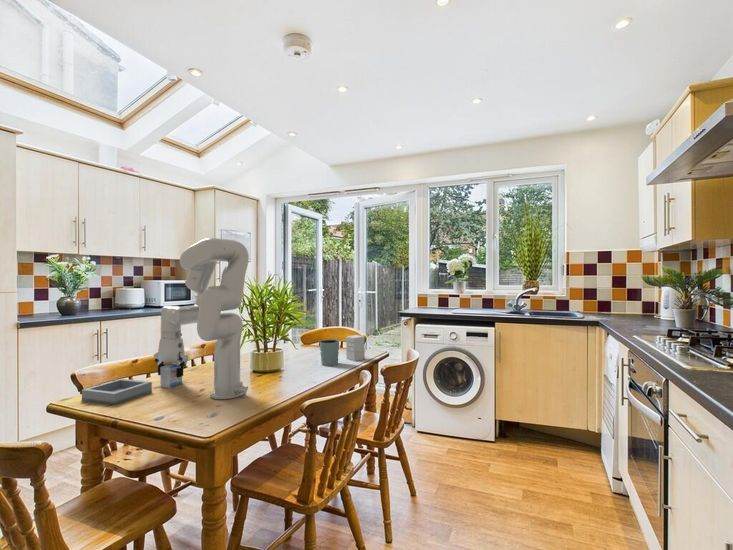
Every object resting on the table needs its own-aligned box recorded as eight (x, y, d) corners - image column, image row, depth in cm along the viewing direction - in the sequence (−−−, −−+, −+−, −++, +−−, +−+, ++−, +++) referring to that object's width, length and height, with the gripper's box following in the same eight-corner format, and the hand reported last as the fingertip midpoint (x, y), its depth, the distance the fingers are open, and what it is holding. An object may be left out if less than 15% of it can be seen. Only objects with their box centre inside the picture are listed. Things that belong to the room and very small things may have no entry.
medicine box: (169, 388, 158) (169, 367, 158) (160, 387, 159) (160, 366, 159) (182, 382, 166) (182, 362, 166) (173, 382, 167) (173, 362, 167)
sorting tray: (151, 391, 153) (151, 381, 153) (114, 405, 138) (114, 393, 138) (121, 388, 158) (121, 378, 158) (81, 400, 143) (81, 389, 143)
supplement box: (356, 357, 216) (356, 334, 216) (364, 359, 210) (364, 336, 210) (345, 359, 211) (345, 336, 211) (354, 361, 206) (354, 337, 206)
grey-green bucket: (343, 363, 201) (343, 340, 201) (331, 367, 192) (331, 343, 192) (327, 361, 206) (327, 338, 206) (315, 365, 198) (315, 341, 198)
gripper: (194, 335, 164) (193, 375, 164) (161, 332, 169) (161, 371, 169) (180, 338, 156) (180, 380, 157) (147, 335, 162) (147, 375, 162)
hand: (170, 375), depth 163 cm, fingers open, 9 cm apart
